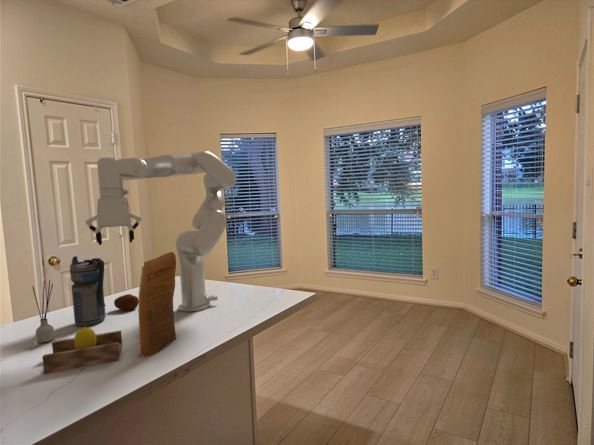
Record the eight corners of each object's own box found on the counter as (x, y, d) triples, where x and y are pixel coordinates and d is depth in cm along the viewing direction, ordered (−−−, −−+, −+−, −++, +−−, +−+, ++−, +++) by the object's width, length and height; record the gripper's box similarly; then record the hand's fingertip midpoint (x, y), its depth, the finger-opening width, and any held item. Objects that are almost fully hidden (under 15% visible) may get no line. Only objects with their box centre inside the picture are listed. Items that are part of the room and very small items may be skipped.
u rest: (122, 345, 113) (121, 330, 113) (119, 360, 102) (118, 343, 102) (54, 356, 106) (53, 341, 106) (44, 374, 96) (42, 357, 95)
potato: (131, 312, 145) (129, 297, 145) (111, 312, 147) (109, 296, 147) (142, 307, 152) (140, 292, 152) (122, 306, 154) (121, 292, 154)
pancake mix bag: (188, 334, 119) (182, 250, 117) (150, 361, 101) (143, 261, 99) (170, 333, 121) (164, 250, 119) (130, 359, 103) (122, 261, 101)
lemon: (100, 353, 105) (98, 326, 104) (79, 360, 100) (76, 332, 100) (93, 348, 108) (91, 322, 108) (72, 354, 104) (70, 327, 104)
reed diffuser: (47, 336, 123) (41, 278, 121) (67, 336, 123) (62, 278, 121) (25, 349, 112) (18, 286, 111) (47, 348, 113) (41, 285, 111)
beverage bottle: (97, 328, 129) (91, 259, 127) (66, 326, 132) (60, 259, 130) (117, 318, 139) (112, 254, 137) (88, 317, 142) (83, 254, 140)
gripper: (139, 193, 132) (143, 240, 133) (85, 195, 125) (89, 244, 126) (139, 192, 125) (142, 242, 126) (81, 194, 118) (85, 246, 120)
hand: (116, 243), depth 126 cm, fingers open, 9 cm apart
